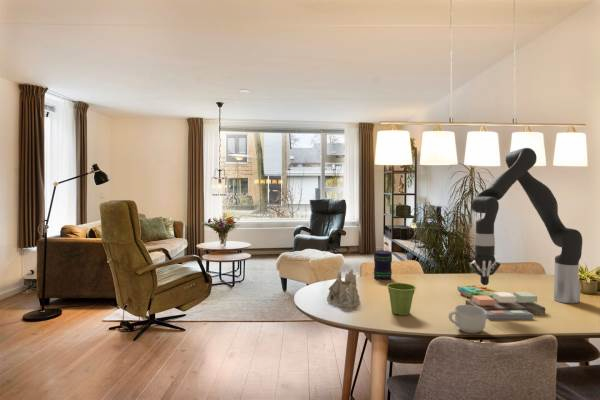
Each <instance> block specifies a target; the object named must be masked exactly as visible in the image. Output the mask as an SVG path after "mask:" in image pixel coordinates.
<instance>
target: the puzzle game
mask: <svg viewBox="0 0 600 400" xmlns="http://www.w3.org/2000/svg"><path fill="white" fill-rule="evenodd" d="M457 291H458V292H459V293H460V294H461V295H462V296H464V297H466V298H469V299H470V300H472V296H485V295H487V296H489V297H491V298H493V292H498V291H496V290H494V289H491V288H488V287H487V286H484V285H480V284H475V285H461V286H457ZM493 299H494V298H493ZM494 300H496V299H494Z"/></svg>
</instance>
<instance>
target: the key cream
mask: <svg viewBox="0 0 600 400" xmlns="http://www.w3.org/2000/svg"><path fill="white" fill-rule="evenodd" d="M493 298H494V299H496V300H498V301H499V302H516V300H517V299H516V296H514V295H513V293H510V292H508V291H507V292H505V291H504V292H503V291H502V292H501V291H497V292H493Z"/></svg>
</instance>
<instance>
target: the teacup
mask: <svg viewBox="0 0 600 400" xmlns="http://www.w3.org/2000/svg"><path fill="white" fill-rule="evenodd" d="M486 314H487V312H486V311H485V310H484V309H482V308H480V307H476V306H471V305H465V304H458V305H456V306H455V307H454V310H451V311H450V312H449V313H448V320H449V321H450V322H451V323H452V324H454V325H455V327H458V328H459V330H460V331H462V332H463V333H466V334H468V333H469V334H478V333H480V332H482V331H484V329H485V328H486V322H487V319H486ZM453 315H454V319H453Z"/></svg>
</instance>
